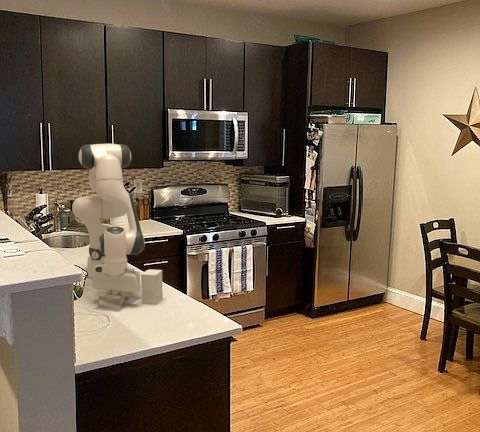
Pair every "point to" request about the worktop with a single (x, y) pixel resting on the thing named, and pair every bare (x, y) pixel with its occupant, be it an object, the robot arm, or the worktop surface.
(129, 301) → the mat
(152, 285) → the small box
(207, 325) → the worktop surface
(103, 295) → the wooden t-shaped stand
